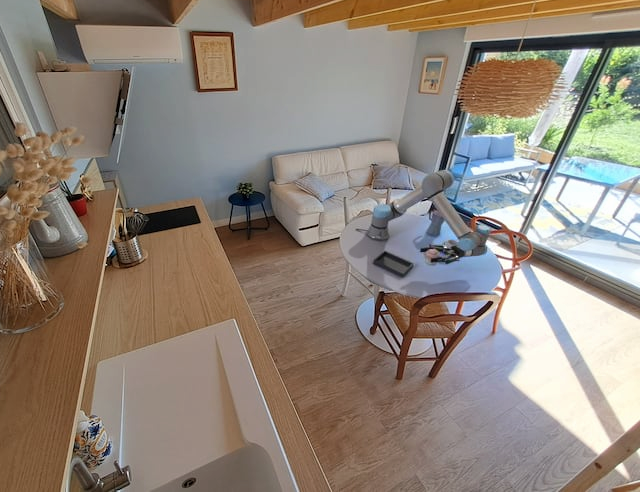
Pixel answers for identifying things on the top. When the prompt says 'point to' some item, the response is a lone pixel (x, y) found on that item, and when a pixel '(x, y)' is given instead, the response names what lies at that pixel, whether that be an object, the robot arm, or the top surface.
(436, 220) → the moka pot
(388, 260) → the baking tray
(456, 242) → the cup
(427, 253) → the cupcake
